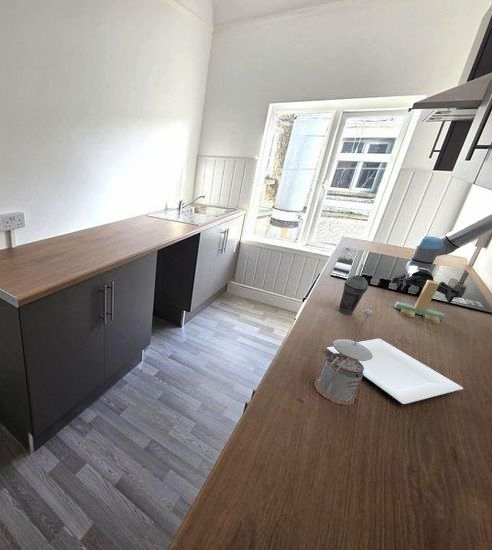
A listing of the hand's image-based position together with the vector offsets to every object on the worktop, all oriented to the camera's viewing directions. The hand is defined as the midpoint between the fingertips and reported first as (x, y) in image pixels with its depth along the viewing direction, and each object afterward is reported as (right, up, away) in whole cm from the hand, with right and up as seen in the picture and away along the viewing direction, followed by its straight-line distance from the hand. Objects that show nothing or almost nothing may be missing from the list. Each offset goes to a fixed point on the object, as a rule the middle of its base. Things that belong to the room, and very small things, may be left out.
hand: (427, 293), depth 115 cm
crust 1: (-6, -8, +2) cm, 11 cm away
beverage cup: (-31, -7, +2) cm, 31 cm away
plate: (-41, -21, -29) cm, 54 cm away
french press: (-63, -24, -37) cm, 76 cm away
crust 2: (-1, -10, -2) cm, 10 cm away
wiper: (-1, -8, +3) cm, 9 cm away
